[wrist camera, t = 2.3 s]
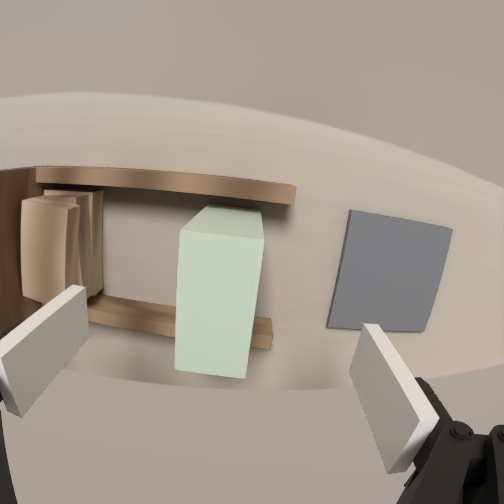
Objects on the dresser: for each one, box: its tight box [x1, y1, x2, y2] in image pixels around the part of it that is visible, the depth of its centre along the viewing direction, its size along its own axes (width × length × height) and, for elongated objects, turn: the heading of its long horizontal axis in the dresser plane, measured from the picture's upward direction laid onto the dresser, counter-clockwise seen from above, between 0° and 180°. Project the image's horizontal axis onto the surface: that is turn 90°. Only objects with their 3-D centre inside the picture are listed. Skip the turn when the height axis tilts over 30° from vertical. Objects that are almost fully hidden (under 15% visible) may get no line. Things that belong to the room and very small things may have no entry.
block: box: [175, 204, 265, 379], centre depth 21 cm, size 4×8×10 cm, turn 173°
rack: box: [0, 166, 296, 349], centre depth 21 cm, size 22×12×10 cm, turn 83°
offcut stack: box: [21, 187, 104, 304], centre depth 23 cm, size 5×9×6 cm, turn 173°
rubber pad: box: [326, 210, 453, 332], centre depth 26 cm, size 10×10×1 cm
